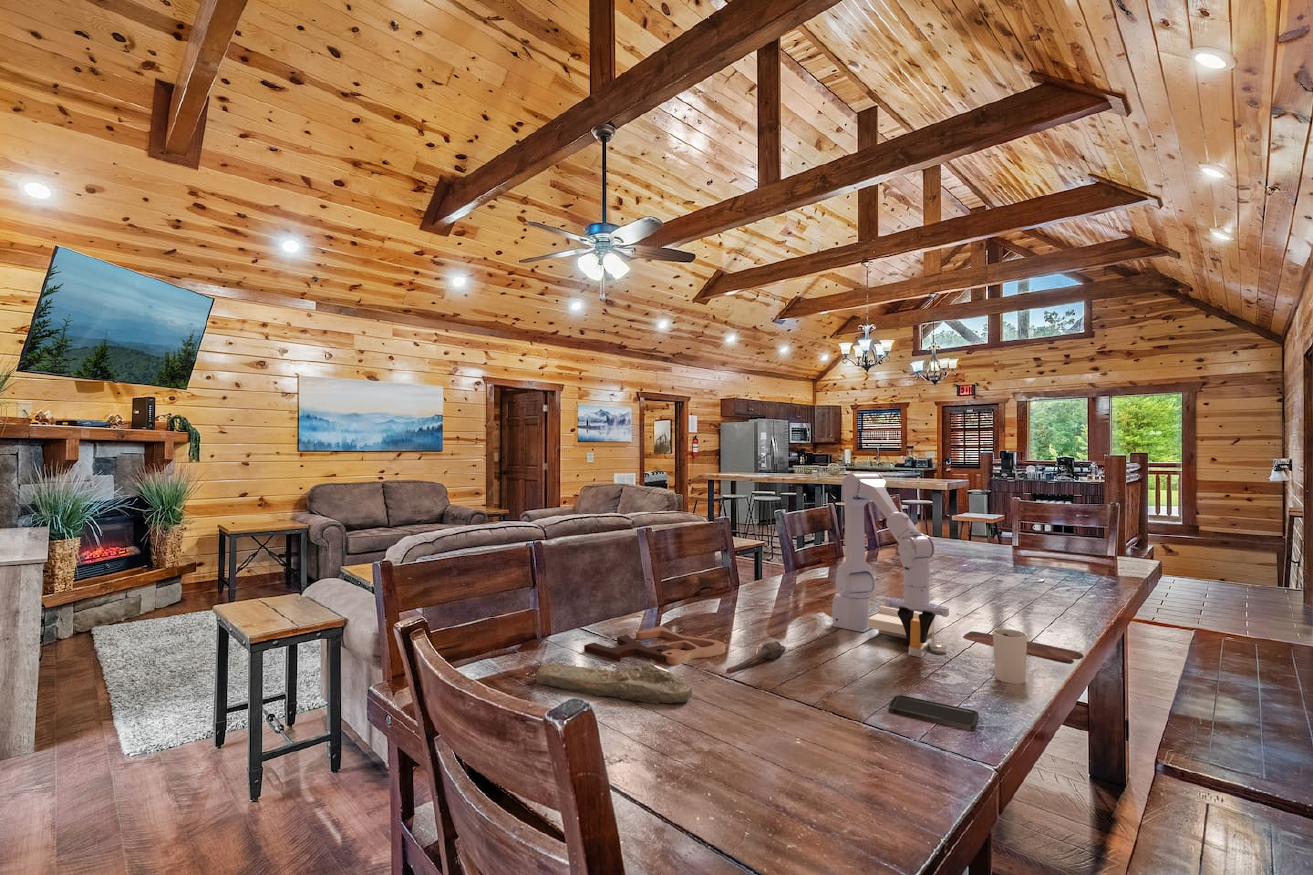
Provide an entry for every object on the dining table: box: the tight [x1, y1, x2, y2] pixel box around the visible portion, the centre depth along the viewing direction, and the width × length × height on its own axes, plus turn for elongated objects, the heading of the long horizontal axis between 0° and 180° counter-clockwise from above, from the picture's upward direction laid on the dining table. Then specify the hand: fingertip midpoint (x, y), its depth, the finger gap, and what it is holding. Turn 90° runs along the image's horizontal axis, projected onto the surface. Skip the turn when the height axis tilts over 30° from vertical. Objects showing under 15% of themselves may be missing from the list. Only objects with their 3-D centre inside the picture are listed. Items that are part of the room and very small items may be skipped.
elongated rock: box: [535, 663, 693, 705], centre depth 129 cm, size 35×5×10 cm
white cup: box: [992, 628, 1028, 685], centre depth 136 cm, size 7×7×10 cm
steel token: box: [928, 642, 948, 655], centre depth 154 cm, size 4×4×2 cm
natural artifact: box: [725, 640, 787, 674], centre depth 146 cm, size 4×23×4 cm
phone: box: [888, 694, 980, 731], centre depth 118 cm, size 8×1×15 cm
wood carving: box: [583, 625, 726, 665], centre depth 153 cm, size 28×2×24 cm
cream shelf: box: [868, 605, 935, 643], centre depth 163 cm, size 14×9×7 cm, turn 49°
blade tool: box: [908, 618, 932, 659], centre depth 154 cm, size 3×11×8 cm, turn 144°
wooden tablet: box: [962, 630, 1084, 664], centre depth 158 cm, size 26×2×10 cm
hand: (916, 640), depth 151 cm, fingers closed on blade tool, 3 cm apart
